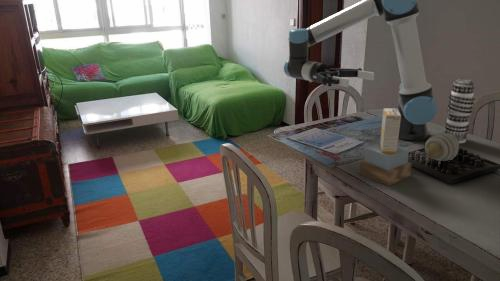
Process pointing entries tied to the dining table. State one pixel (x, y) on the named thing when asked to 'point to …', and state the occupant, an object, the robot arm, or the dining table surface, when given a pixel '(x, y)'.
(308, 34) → the robot arm
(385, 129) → the supplement box
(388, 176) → the tower base block
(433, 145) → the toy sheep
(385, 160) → the tower top block
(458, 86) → the decorative candle
